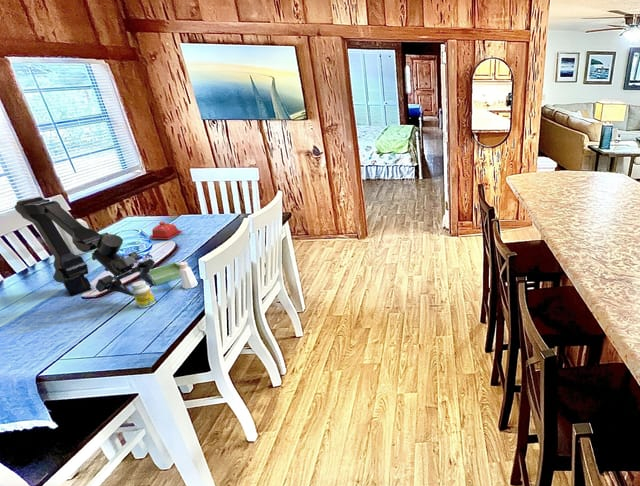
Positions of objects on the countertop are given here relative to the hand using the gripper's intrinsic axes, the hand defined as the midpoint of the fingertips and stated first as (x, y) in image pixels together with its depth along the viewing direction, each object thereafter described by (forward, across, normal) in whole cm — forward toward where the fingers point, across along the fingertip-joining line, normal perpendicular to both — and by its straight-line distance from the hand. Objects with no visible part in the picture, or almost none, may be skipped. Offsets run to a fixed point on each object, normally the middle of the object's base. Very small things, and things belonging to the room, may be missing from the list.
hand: (143, 290), depth 148 cm
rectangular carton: (-51, +28, +60) cm, 84 cm away
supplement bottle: (+4, 0, +6) cm, 7 cm away
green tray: (-6, +20, +16) cm, 26 cm away
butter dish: (-36, +53, +45) cm, 78 cm away
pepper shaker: (+6, +16, +4) cm, 17 cm away
